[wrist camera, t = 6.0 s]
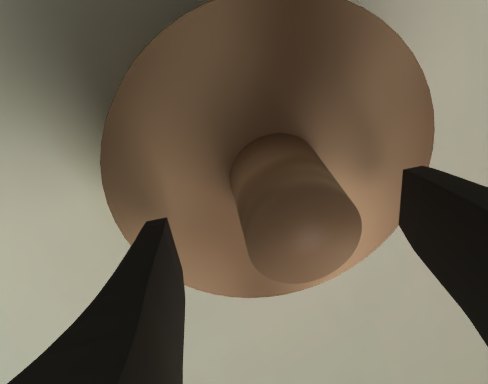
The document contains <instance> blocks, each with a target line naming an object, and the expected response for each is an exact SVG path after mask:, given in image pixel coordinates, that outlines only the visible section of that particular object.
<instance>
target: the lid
mask: <svg viewBox="0 0 488 384" xmlns="http://www.w3.org/2000/svg"><path fill="white" fill-rule="evenodd" d="M433 141H434V110H433V105H432V99H431V94H430V90H429V87H428V84H427V81H426V79H425V76H424V73H423V71H422V69H421V67H420V65H419V63H418V61H417V60H416V58H415V56H414V54H413V52H412V51H411V50H410V49H409V47H408V46H407V45H406V44H405V42H404V41H403V40H402V38H401V37H400V36H399V35H398V34H397V33H396V32H395V31H394V30H393V29H392V28H390V27H389V26H388V25H387V24H386V23H385V22H384V21H383V20H381V19H380V18H378V17H377V16H375V15H374V14H372V13H371V12H369V11H367V10H366V9H364V8H363V7H361V6H358V5H356V4H354V3H352V2H349V1H347V0H212V1H209V2H207V3H205V4H203V5H201V6H199V7H197V8H195V9H193V10H192V11H190V12H188V13H186V14H184V15H182V16H181V17H180V18H178V19H177V20H176V21H174V22H173V23H172V24H170V25H169V26H168V27H166V28H165V29H164V30H162V31H161V32H160V33H159V34H158V35H157V36H156V37H155V38H154V39H153V40H152V41H151V42H150V43H149V44H148V45H147V46H146V47H145V48H144V49H143V51H142V52H141V53H140V55H139V56H138V57H137V58H136V60H135V61H134V62H133V64H132V65H131V66H130V68H129V70H128V71H127V73H126V75H125V77H124V79H123V80H122V82H121V84H120V86H119V88H118V90H117V92H116V94H115V96H114V99H113V102H112V104H111V107H110V110H109V113H108V115H107V118H106V122H105V127H104V132H103V136H102V141H101V160H100V165H101V175H102V185H103V188H104V192H105V196H106V200H107V204H108V206H109V209H110V211H111V213H112V216H113V218H114V220H115V222H116V224H117V226H118V227H119V229H120V231H121V232H122V234H123V235H124V237H125V239H126V240H127V241H128V242H129V243H130V245H131V246H132V244H133V242H134V241H135V239H136V237H137V236H138V234H139V232H140V230H141V229H142V227H143V226H144V224H145V223H146V221H151V220H156V219H161V218H166V217H167V219H168V222H169V225H170V229H171V232H172V236H173V239H174V242H175V246H176V249H177V252H178V256H179V259H180V263H181V266H182V269H183V279H184V285H186V286H189V287H191V288H194V289H196V290H200V291H204V292H207V293H211V294H215V295H222V296H228V297H241V298H258V297H271V296H278V295H284V294H289V293H293V292H297V291H301V290H304V289H307V288H310V287H313V286H316V285H319V284H321V283H323V282H325V281H328V280H330V279H332V278H334V277H336V276H338V275H340V274H341V273H343V272H345V271H347V270H349V269H350V268H352V267H353V266H355V265H356V264H358V263H359V262H360V261H362V260H363V259H365V258H366V257H367V256H368V255H370V254H371V253H372V252H373V251H374V250H376V249H377V248H378V247H379V246H380V245H381V244H382V243H383V242H384V241H385V240H386V239H387V238H388V237H389V236H390V235H391V234H392V233H393V231H394V230H395V229H396V228H397V226H398V225H399V212H400V200H401V187H402V175H403V169H408V168H413V167H418V166H426V167H429V164H430V159H431V155H432V150H433Z"/></svg>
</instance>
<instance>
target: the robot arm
mask: <svg viewBox="0 0 488 384" xmlns="http://www.w3.org/2000/svg"><path fill="white" fill-rule="evenodd" d="M399 226H400V228H401V229H402V231H403V233H404V235H405V236H406V238H407V240H408V241H409V243H410V244H411V246H412V248H413V249H414V251H415V252H416V253H417V255H418V256H419V257H420V258H421V260H422V261H423V262H424V263H425V265H426V266H427V267H428V268H429V269H430V271H431V272H432V273H433V274H434V276H435V277H436V278H437V279H438V280H439V282H440V283H441V284H442V285H443V286H444V288H445V289H446V290H447V291H448V292H449V294H450V295H451V296H452V297H453V299H454V300H455V301H456V302H457V303H458V305H459V306H460V307H461V308H462V310H463V311H464V312H465V314H466V315H467V316H468V318H469V319H470V320H471V322H472V323H473V325H474V326H475V328H476V329H477V331H478V332H479V334H480V335H481V337H482V339H483V340H484V342H485V343H486V345H487V346H488V187H485V186H482V185H479V184H476V183H474V182H471V181H468V180H465V179H462V178H460V177H457V176H454V175H451V174H448V173H445V172H442V171H439V170H436V169H433V168H430V167H426V166H418V167H413V168H408V169H403V175H402V187H401V200H400V212H399ZM184 320H185V291H184V279H183V269H182V266H181V263H180V259H179V256H178V252H177V249H176V246H175V242H174V239H173V236H172V232H171V229H170V225H169V222H168V219H167V217H166V218H161V219H156V220H151V221H146V223H145V224H144V226H143V227H142V229H141V230H140V232H139V234H138V236H137V237H136V239H135V241H134V242H133V244H132V246H131V247H130V249H129V250H128V252H127V254H126V255H125V257H124V258H123V260H122V261H121V263H120V264H119V266H118V267H117V269H116V270H115V272H114V273H113V275H112V276H111V278H110V279H109V280H108V282H107V283H106V284H105V286H104V287H103V288H102V290H101V291H100V293H99V294H98V295H97V296H96V298H95V299H94V300H93V301H92V303H91V304H90V305H89V306H88V307H87V308H86V309H85V311H84V312H83V313H82V314H81V315H80V316H79V317H78V318H77V320H76V321H75V322H74V323H73V324H72V325H71V326H70V327H69V328H68V329H67V330H66V331H65V332H64V333H63V334H62V335H61V336H60V337H59V338H58V339H57V340H56V341H55V342H54V343H53V344H52V345H51V346H50V347H49V348H48V349H47V350H45V351H44V352H43V353H42V354H41V355H40V356H39V357H38V358H37V359H36V360H34V361H33V362H32V363H31V364H30V365H29V366H28V367H27V368H25V369H24V370H23V371H22V372H21V373H19V374H18V375H17V376H16V377H15V378H13V379H12V380H11V381H10V382H9V383H7V384H183V345H184Z"/></svg>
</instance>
